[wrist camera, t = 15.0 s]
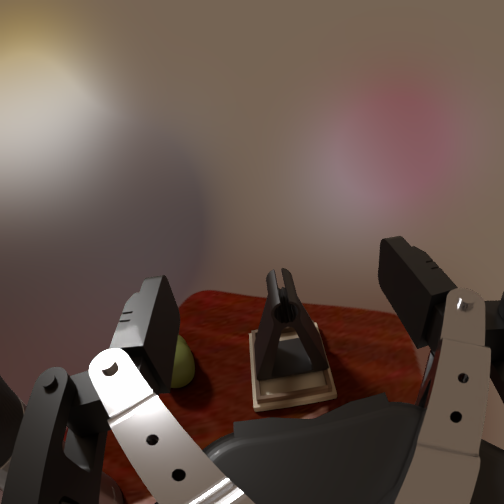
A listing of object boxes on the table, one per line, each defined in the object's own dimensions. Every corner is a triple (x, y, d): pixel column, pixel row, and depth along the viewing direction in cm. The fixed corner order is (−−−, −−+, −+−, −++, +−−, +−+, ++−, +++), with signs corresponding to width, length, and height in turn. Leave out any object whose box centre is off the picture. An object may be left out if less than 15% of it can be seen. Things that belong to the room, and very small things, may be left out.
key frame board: (254, 411, 34) (252, 403, 33) (250, 338, 46) (247, 328, 45) (336, 398, 34) (337, 389, 33) (316, 327, 45) (316, 317, 44)
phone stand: (319, 335, 41) (317, 262, 35) (329, 369, 36) (329, 294, 30) (254, 346, 41) (238, 274, 35) (256, 380, 36) (238, 309, 30)
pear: (148, 371, 35) (149, 330, 44) (163, 399, 37) (161, 356, 46) (189, 359, 36) (184, 320, 45) (202, 389, 38) (194, 347, 47)
